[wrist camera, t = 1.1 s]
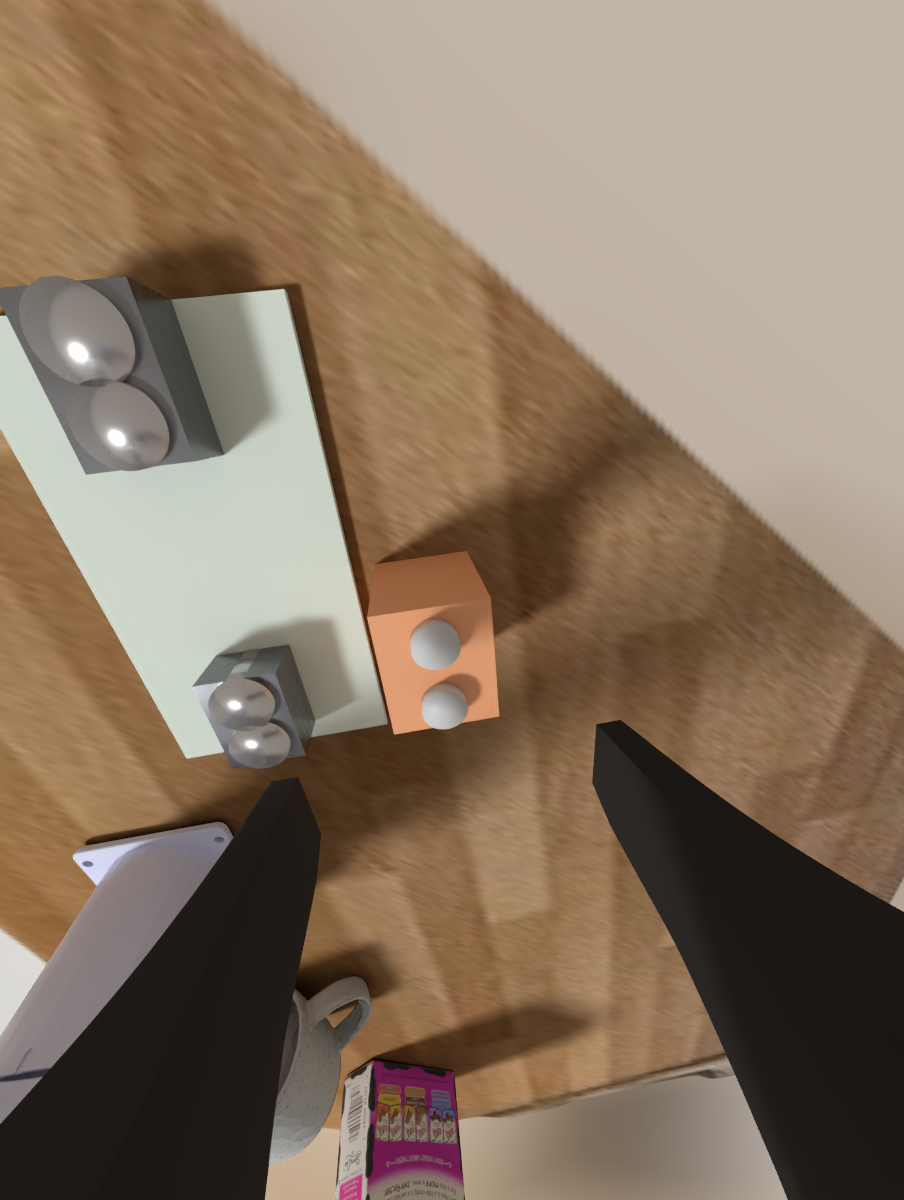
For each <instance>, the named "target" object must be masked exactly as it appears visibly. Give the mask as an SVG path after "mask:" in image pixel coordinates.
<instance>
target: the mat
mask: <svg viewBox="0 0 904 1200" xmlns="http://www.w3.org/2000/svg"><path fill="white" fill-rule="evenodd" d="M172 303H173V306H174V309H175V312H176V315H177V318H178V321H179V324H180V326H181V329H182V332H183V335H184V338H185V341H186V344H187V347H188V350H189V353H190V356H191V359H192V362H193V364H194V367H195V370H196V373H197V376H198V379H199V382H200V385H201V388H202V391H203V394H204V397H205V399H206V402H207V405H208V408H209V411H210V414H211V417H212V420H213V423H214V426H215V429H216V432H217V435H218V437H219V440H220V443H221V446H222V449H223V452H224V455H222V456H218V457H213V458H209V459H204V460H199V461H194V462H186V463H178V464H170V465H163V466H158V467H153V468H148V469H143V470H138V471H123V470H121V471H113V472H104V473H96V474H88V475H86V474H85V472H84V470H83V468H82V466H81V464H80V462H79V460H78V458H77V456H76V454H75V452H74V450H73V448H72V446H71V444H70V442H69V440H68V438H67V436H66V434H65V432H64V430H63V428H62V426H61V424H60V422H59V420H58V418H57V416H56V414H55V412H54V410H53V408H52V406H51V404H50V402H49V400H48V398H47V396H46V394H45V392H44V390H43V388H42V386H41V384H40V382H39V380H38V378H37V376H36V374H35V372H34V370H33V368H32V366H31V364H30V362H29V360H28V358H27V356H26V354H25V352H24V350H23V348H22V346H21V344H20V342H19V340H18V338H17V336H16V334H15V332H14V330H13V328H12V326H11V324H10V322H9V320H8V318H7V316H0V429H1V431H2V432H3V434H4V436H5V438H6V439H7V441H8V443H9V445H10V447H11V448H12V450H13V452H14V454H15V455H16V457H17V459H18V461H19V462H20V464H21V466H22V468H23V470H24V471H25V473H26V475H27V477H28V478H29V480H30V482H31V484H32V486H33V487H34V489H35V491H36V493H37V494H38V496H39V498H40V500H41V501H42V503H43V505H44V507H45V509H46V510H47V512H48V514H49V516H50V517H51V519H52V521H53V523H54V524H55V526H56V528H57V530H58V532H59V533H60V535H61V537H62V539H63V540H64V542H65V544H66V546H67V548H68V549H69V551H70V553H71V555H72V556H73V558H74V560H75V562H76V563H77V565H78V567H79V569H80V571H81V572H82V574H83V576H84V578H85V579H86V581H87V583H88V585H89V587H90V588H91V590H92V592H93V594H94V595H95V597H96V599H97V601H98V602H99V604H100V606H101V608H102V610H103V611H104V613H105V615H106V617H107V618H108V620H109V622H110V624H111V625H112V627H113V629H114V631H115V633H116V634H117V636H118V638H119V640H120V641H121V643H122V645H123V647H124V649H125V650H126V652H127V654H128V656H129V657H130V659H131V661H132V663H133V664H134V666H135V668H136V670H137V672H138V673H139V675H140V677H141V679H142V680H143V682H144V684H145V686H146V687H147V689H148V691H149V693H150V695H151V696H152V698H153V700H154V702H155V703H156V705H157V707H158V709H159V711H160V712H161V714H162V716H163V718H164V719H165V721H166V723H167V725H168V726H169V728H170V730H171V732H172V734H173V735H174V737H175V739H176V741H177V742H178V744H179V746H180V748H181V749H182V751H183V753H184V755H185V757H186V758H193V757H199V756H204V755H210V754H216V753H222V752H224V750H223V748H222V746H221V744H220V742H219V740H218V738H217V736H216V734H215V732H214V730H213V728H212V726H211V724H210V722H209V720H208V718H207V716H206V714H205V712H204V710H203V708H202V706H201V704H200V702H199V700H198V698H197V696H196V694H195V692H194V690H193V688H192V686H193V685H194V683H195V682H196V681H197V680H198V678H199V677H200V676H201V674H202V673H203V672H204V670H205V669H206V668H207V666H208V665H209V664H210V663H211V661H212V660H213V659H214V657H215V656H217V655H223V654H230V653H236V652H243V651H247V650H250V649H262V648H269V647H275V646H282V645H288V644H289V645H290V648H291V651H292V654H293V657H294V659H295V662H296V665H297V668H298V671H299V674H300V677H301V680H302V683H303V686H304V689H305V692H306V695H307V697H308V700H309V703H310V706H311V709H312V712H313V715H314V718H315V724H314V728H313V732H312V735H311V737H316V736H322V735H328V734H333V733H339V732H345V731H351V730H357V729H363V728H369V727H374V726H380V725H386V724H387V720H388V719H387V714H386V710H385V706H384V702H383V697H382V693H381V689H380V685H379V680H378V676H377V672H376V668H375V663H374V659H373V655H372V651H371V646H370V642H369V638H368V634H367V629H366V625H365V621H364V617H363V612H362V608H361V604H360V600H359V595H358V591H357V587H356V583H355V578H354V574H353V570H352V566H351V561H350V557H349V553H348V549H347V544H346V540H345V536H344V532H343V527H342V523H341V519H340V515H339V510H338V506H337V502H336V498H335V493H334V489H333V485H332V480H331V476H330V472H329V468H328V463H327V459H326V455H325V451H324V446H323V442H322V438H321V434H320V429H319V425H318V421H317V417H316V412H315V408H314V404H313V400H312V395H311V391H310V387H309V383H308V378H307V374H306V370H305V366H304V361H303V357H302V353H301V349H300V344H299V340H298V336H297V332H296V327H295V323H294V319H293V315H292V310H291V306H290V302H289V298H288V293H287V292H286V291H285V289H279V290H268V291H258V292H247V293H237V294H226V295H216V296H205V297H195V298H184V299H174V300H172Z"/></svg>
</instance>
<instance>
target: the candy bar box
mask: <svg viewBox="0 0 904 1200" xmlns="http://www.w3.org/2000/svg"><path fill="white" fill-rule="evenodd" d="M336 1182H337V1183H336V1193H335V1200H465V1195H464V1183H463V1173H462V1160H461V1149H460V1136H459V1123H458V1112H457V1100H456V1088H455V1076H454V1072H452V1071H446V1070H441V1069H434V1068H428V1067H421V1066H414V1065H406V1064H399V1063H392V1062H385V1061H379V1060H372V1061H370V1062H369V1063H367V1064H365V1065H364V1066H362V1067H361V1068H359V1069H357V1070H356V1071H354V1072H353V1073H351V1074H350V1075H349V1076H347V1077H346V1078H345V1080H344V1090H343V1103H342V1116H341V1129H340V1142H339V1156H338V1169H337V1181H336Z"/></svg>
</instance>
